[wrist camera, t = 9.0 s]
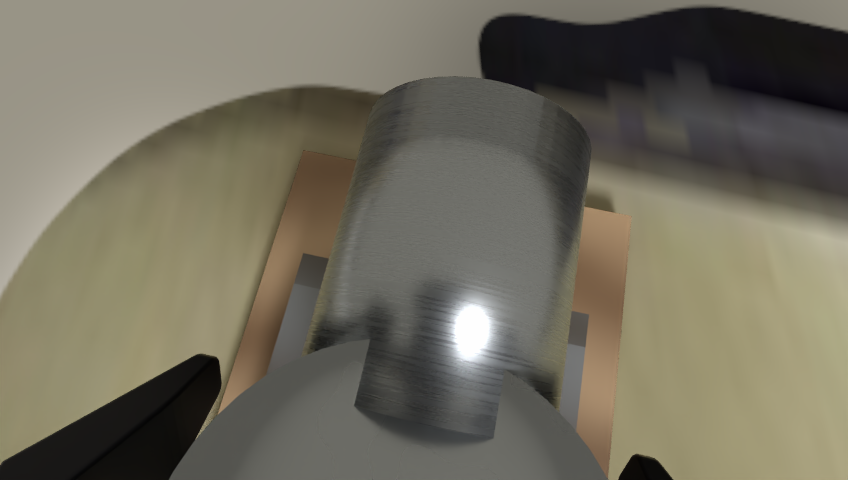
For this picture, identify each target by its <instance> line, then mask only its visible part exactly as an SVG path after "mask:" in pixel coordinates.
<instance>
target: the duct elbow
mask: <svg viewBox="0 0 848 480" xmlns="http://www.w3.org/2000/svg"><path fill="white" fill-rule="evenodd" d="M590 159H591V143H590V139H589V137H588V135H587V133H586V131H585V129H584V128H583V127H582V125H581V124H580V123H579V121H577V120H576V119H575V118H574V117H573V116H572V115H571V114H570V113H569V112H567V111H566V110H565V109H563V108H562V107H560V106H559V105H558V104H556V103H554V102H552V101H550V100H549V99H547V98H545V97H543V96H541V95H538V94H536V93H534V92H531V91H529V90H526V89H523V88H520V87H517V86H514V85H511V84H507V83H502V82H498V81H494V80H487V79H481V78H473V77H456V76H454V77H434V78H426V79H420V80H416V81H412V82H408V83H405V84H403V85H400V86H397V87H395V88H393V89H391V90H390V91H388V92H386V93H385V94H384V95H383V96H381V97H380V98H379V99H378V100H377V101H376V103H375V104H374V105H373V107H372V110H371V112H370V115H369V119H368V122H367V126H366V129H365V133H364V136H363V140H362V143H361V147H360V150H359V154H358V158H357V161H356V165H355V168H354V172H353V175H352V179H351V182H350V186H349V189H348V193H347V196H346V200H345V203H344V207H343V211H342V214H341V218H340V221H339V225H338V228H337V232H336V235H335V239H334V242H333V246H332V249H331V253H330V256H329V260H328V264H327V267H326V271H325V274H324V278H323V281H322V285H321V288H320V292H319V295H318V299H317V302H316V306H315V309H314V313H313V316H312V320H311V324H310V327H309V331H308V334H307V338H306V341H305V345H304V348H303V352H302V355H301V357H300V358H298V359H295V360H293V361H291V362H289V363H288V364H286V365H284V366H282V367H280V368H278V369H277V370H275V371H273V372H271V373H269V374H268V375H266V376H265V377H263V378H262V379H260V380H259V381H258V382H256V383H255V384H253V385H252V386H251V387H249V388H248V389H247V390H245V391H244V392H242V393H241V394H240V395H239V396H238V397H236V398H235V399H234V400H233V401H232V402H231V403H230V404H229V405H228V406H227V407H226V408H225V409H223V410H222V411H221V412H220V413H219V414H218V415H217V416H216V417H215V418H214V419H213V420H212V421H211V423H210V424H209V425H208V426H207V427H206V428H205V430H204V431H203V432H202V433H201V434H200V435H199V437H198V438H197V439H196V440H195V441H194V442H193V444H192V445H191V446H190V448H189V449H188V451H187V452H186V454H185V455H184V457H183V458H182V460H181V461H180V463H179V464H178V466H177V467H176V468H175V470H174V471H173V473H172V475H171V477H170V478H169V480H608V478H607V477H606V475H605V473H604V472H603V470H602V468H601V467H600V465H599V463H598V462H597V460H596V458H595V457H594V455H593V453H592V452H591V450H590V449H589V448H588V446H587V445H586V444H585V442H584V441H583V440H582V438H581V437H580V436H579V435H578V433H577V432H576V431H575V429H574V428H573V427H572V425H571V424H570V423H569V422H568V421H567V420H566V419H565V418H564V417H563V416H562V415H561V414H560V413H559V409H560V401H561V393H562V385H563V376H564V368H565V360H566V352H567V344H568V336H569V328H570V320H571V312H572V304H573V296H574V288H575V280H576V272H577V264H578V256H579V248H580V239H581V231H582V223H583V215H584V207H585V199H586V191H587V183H588V175H589V167H590Z"/></svg>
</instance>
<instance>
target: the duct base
mask: <svg viewBox="0 0 848 480" xmlns="http://www.w3.org/2000/svg"><path fill="white" fill-rule="evenodd" d="M355 165H356V161H355V160H350V159H345V158H340V157H335V156H330V155H325V154H320V153H315V152H310V151H305V150H303V153H302V156H301V159H300V162H299V166H298V169H297V172H296V175H295V178H294V181H293V184H292V187H291V190H290V193H289V196H288V199H287V202H286V206H285V209H284V212H283V215H282V218H281V221H280V224H279V227H278V230H277V233H276V236H275V239H274V242H273V246H272V249H271V252H270V255H269V258H268V261H267V264H266V267H265V270H264V273H263V276H262V279H261V282H260V286H259V289H258V292H257V295H256V298H255V301H254V304H253V307H252V310H251V313H250V316H249V319H248V322H247V326H246V329H245V332H244V335H243V338H242V341H241V344H240V347H239V350H238V353H237V356H236V359H235V362H234V366H233V369H232V372H231V375H230V378H229V381H228V384H227V387H226V390H225V393H224V396H223V399H222V402H221V405H220V409H219V412H218V414H219V413H220V412H221V411H222V410H223V409H225V408H226V407H227V406H228V405H229V404H230V403H231V402H232V401H233V400H234V399H235V398H236V397H238V396H239V395H240V394H241V393H242V392H244V391H245V390H247V389H248V388H249V387H251V386H252V385H253V384H255V383H256V382H258V381H259V380H260V379H262V378H263V377H265V376H266V375H268V374H269V373H271V372H273V371H275V370H277V369H278V368H280V367H282V366H284V365H286V364H288V363H289V362H291V361H293V360H295V359H298V358H300V357H301V355H302V352H303V348H304V345H305V341H306V338H307V334H308V331H309V327H310V324H311V320H312V316H313V313H314V309H315V306H316V302H317V299H318V295H319V292H320V288H321V285H322V281H323V278H324V274H325V271H326V267H327V264H328V260H329V256H330V253H331V249H332V246H333V242H334V239H335V235H336V232H337V228H338V225H339V221H340V218H341V214H342V211H343V207H344V203H345V200H346V196H347V193H348V189H349V186H350V182H351V179H352V175H353V172H354V168H355ZM630 227H631V216H628V215H623V214H618V213H613V212H608V211H603V210H598V209H593V208H588V207H584V215H583V223H582V231H581V239H580V248H579V256H578V264H577V272H576V280H575V288H574V296H573V304H572V312H571V320H570V328H569V336H568V344H567V352H566V360H565V368H564V376H563V385H562V393H561V401H560V409H559V413H560V414H561V415H562V416H563V417H564V418H565V419H566V420H567V421H568V422H569V423H570V424H571V425H572V427H573V428H574V429H575V431H576V432H577V433H578V435H579V436H580V437H581V438H582V440H583V441H584V442H585V444H586V445H587V446H588V448H589V449H590V450H591V452H592V453H593V455H594V457H595V458H596V460H597V462H598V463H599V465H600V467H601V468H602V470H603V472H604V473H605V475H606V477H607V478H608V470H609V459H610V448H611V437H612V426H613V415H614V404H615V393H616V382H617V371H618V360H619V349H620V338H621V326H622V315H623V304H624V293H625V282H626V271H627V260H628V249H629V238H630Z"/></svg>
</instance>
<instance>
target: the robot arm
mask: <svg viewBox="0 0 848 480" xmlns="http://www.w3.org/2000/svg"><path fill="white" fill-rule="evenodd" d="M221 384H222V382H221V373H220V364H219V360H218V358H217V357H215V356H210V355H206V354H197V355H195V356H193V357H191V358H189V359H187V360H186V361H184V362H182V363H180V364H178V365H177V366H175V367H173V368H171V369H169V370H167V371H166V372H164V373H162V374H160V375H158V376H157V377H155V378H153V379H151V380H149V381H148V382H146V383H144V384H142V385H140V386H138V387H137V388H135V389H133V390H131V391H129V392H128V393H126V394H124V395H122V396H120V397H119V398H117V399H115V400H113V401H111V402H110V403H108V404H106V405H104V406H102V407H100V408H99V409H97V410H95V411H93V412H91V413H90V414H88V415H86V416H84V417H82V418H81V419H79V420H77V421H75V422H73V423H71V424H70V425H68V426H66V427H64V428H62V429H61V430H59V431H57V432H55V433H53V434H52V435H50V436H48V437H46V438H44V439H42V440H41V441H39V442H37V443H35V444H33V445H32V446H30V447H28V448H26V449H24V450H23V451H21V452H19V453H17V454H15V455H14V456H12V457H10V458H8V459H6V460H4V461H3V462H2V463H1V465H0V480H169V478H170V477H171V475H172V473H173V471H174V470H175V468H176V467H177V466H178V464H179V463H180V461H181V460H182V458H183V457H184V455H185V454H186V452H187V451H188V449H189V448H190V446H191V445H192V444H193V442H194V441H195V439H196V437H197V435H198V433H199V431H200V429H201V428H202V426H203V424H204V422H205V420H206V418H207V416H208V414H209V412H210V410H211V408H212V406H213V404H214V402H215V400H216V399H217V397H218V395H219V392H220V389H221ZM618 480H673V479H672V477H671V476H670V475H669V474H668V472H667V471H666V470H665V469H664V467H663V466H662V465H661V464H660V463H659V462H658V461H657V460H656V459H655V458H652V457H649V456H644V455H640V454H635V455H633V456H632V457H631V458H630V460H629V462H628V463H627V465H626V466H625V468H624V470H623V471H622V473H621V474H620V476H619V479H618Z"/></svg>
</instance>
